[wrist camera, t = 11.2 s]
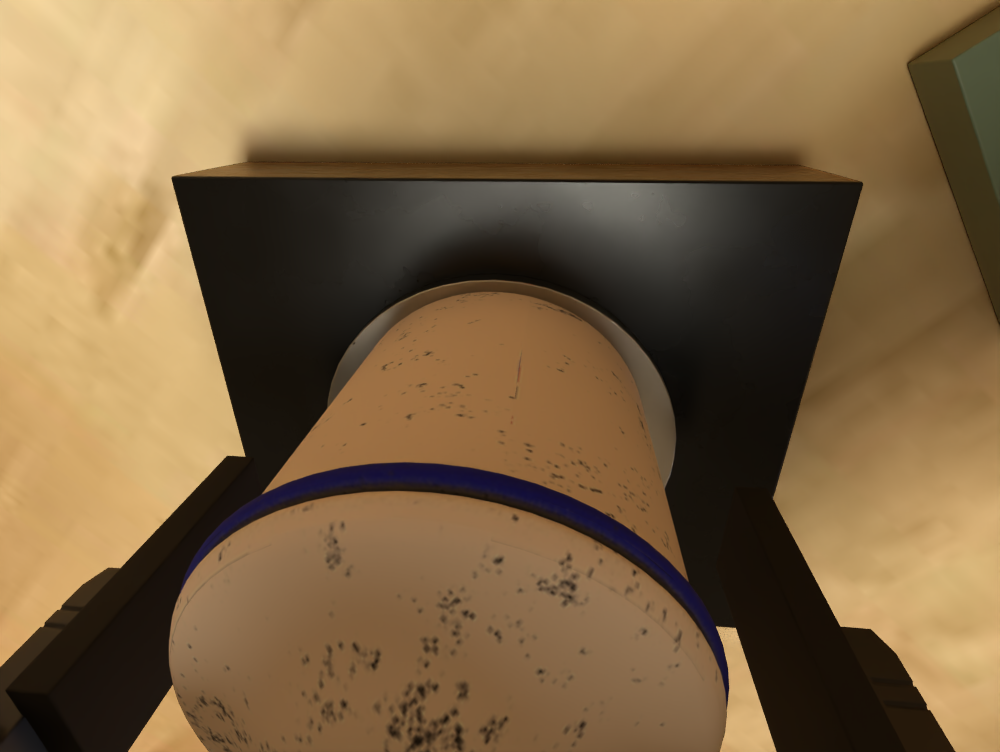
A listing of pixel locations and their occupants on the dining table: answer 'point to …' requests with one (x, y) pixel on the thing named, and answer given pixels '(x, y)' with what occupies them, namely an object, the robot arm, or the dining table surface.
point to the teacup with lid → (458, 562)
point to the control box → (969, 131)
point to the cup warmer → (535, 294)
